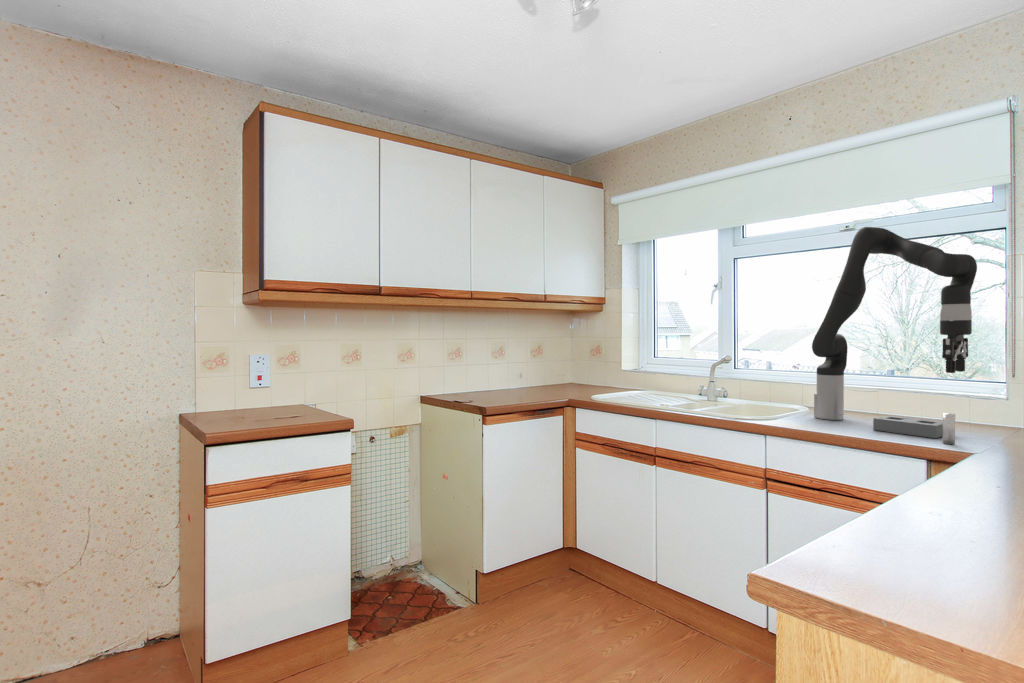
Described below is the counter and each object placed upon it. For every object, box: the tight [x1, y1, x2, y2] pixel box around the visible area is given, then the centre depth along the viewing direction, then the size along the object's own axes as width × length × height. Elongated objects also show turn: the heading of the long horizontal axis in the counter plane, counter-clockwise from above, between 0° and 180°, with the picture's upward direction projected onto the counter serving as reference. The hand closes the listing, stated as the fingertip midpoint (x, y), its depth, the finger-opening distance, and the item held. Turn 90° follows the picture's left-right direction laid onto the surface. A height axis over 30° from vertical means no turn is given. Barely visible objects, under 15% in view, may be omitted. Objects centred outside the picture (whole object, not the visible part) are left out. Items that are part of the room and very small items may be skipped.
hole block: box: [872, 414, 943, 439], centre depth 183 cm, size 18×11×4 cm, turn 34°
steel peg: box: [941, 412, 956, 445], centre depth 166 cm, size 3×3×9 cm
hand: (955, 372), depth 166 cm, fingers open, 8 cm apart
